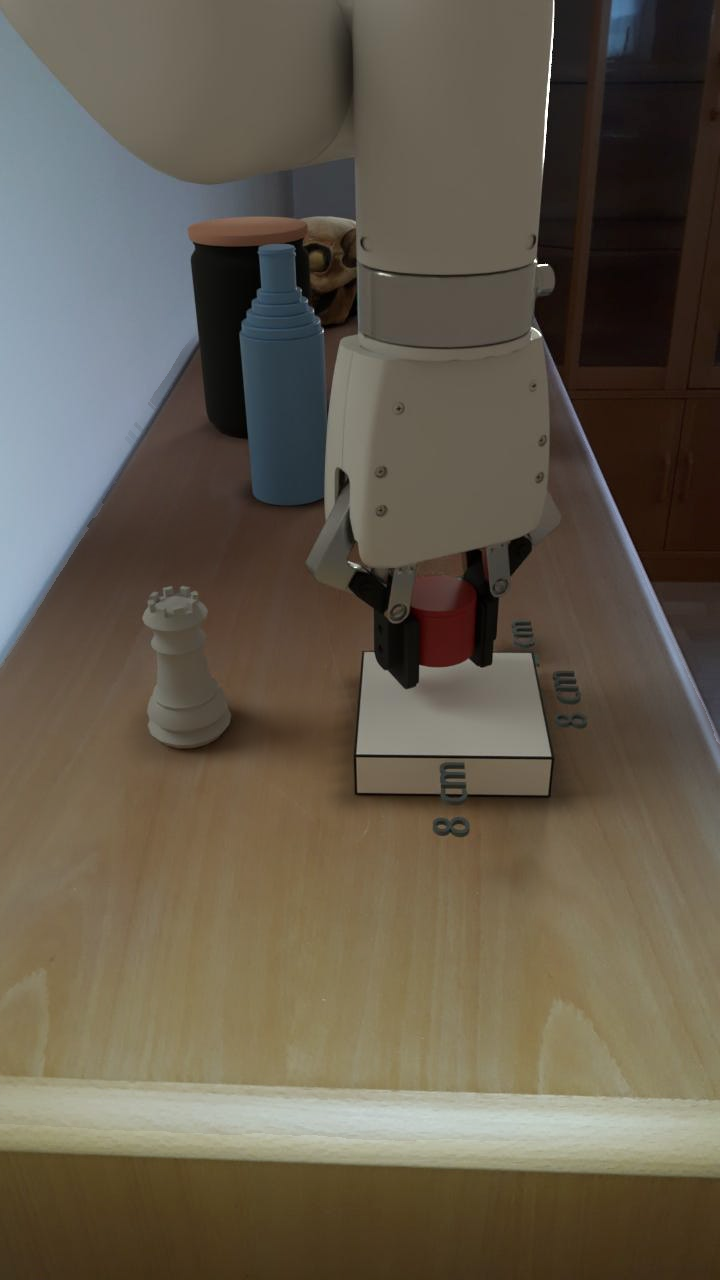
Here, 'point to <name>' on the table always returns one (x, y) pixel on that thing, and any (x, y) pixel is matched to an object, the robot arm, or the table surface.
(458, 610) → the cap
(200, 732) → the rook chess piece
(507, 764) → the container
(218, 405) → the coffee jar
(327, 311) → the skull
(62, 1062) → the table surface
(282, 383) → the bottle
